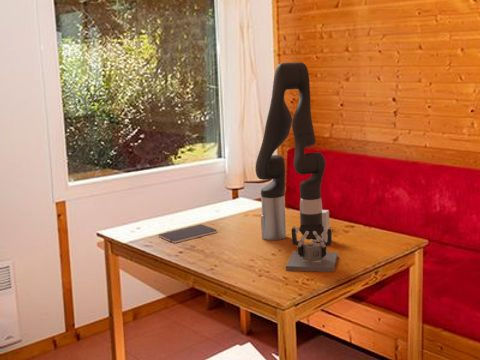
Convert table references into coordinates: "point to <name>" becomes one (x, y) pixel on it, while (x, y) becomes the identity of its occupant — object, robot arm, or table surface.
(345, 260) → the table surface
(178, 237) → the notebook
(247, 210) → the table surface
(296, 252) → the plate
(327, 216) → the skincare box
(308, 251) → the dice cube
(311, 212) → the robot arm
